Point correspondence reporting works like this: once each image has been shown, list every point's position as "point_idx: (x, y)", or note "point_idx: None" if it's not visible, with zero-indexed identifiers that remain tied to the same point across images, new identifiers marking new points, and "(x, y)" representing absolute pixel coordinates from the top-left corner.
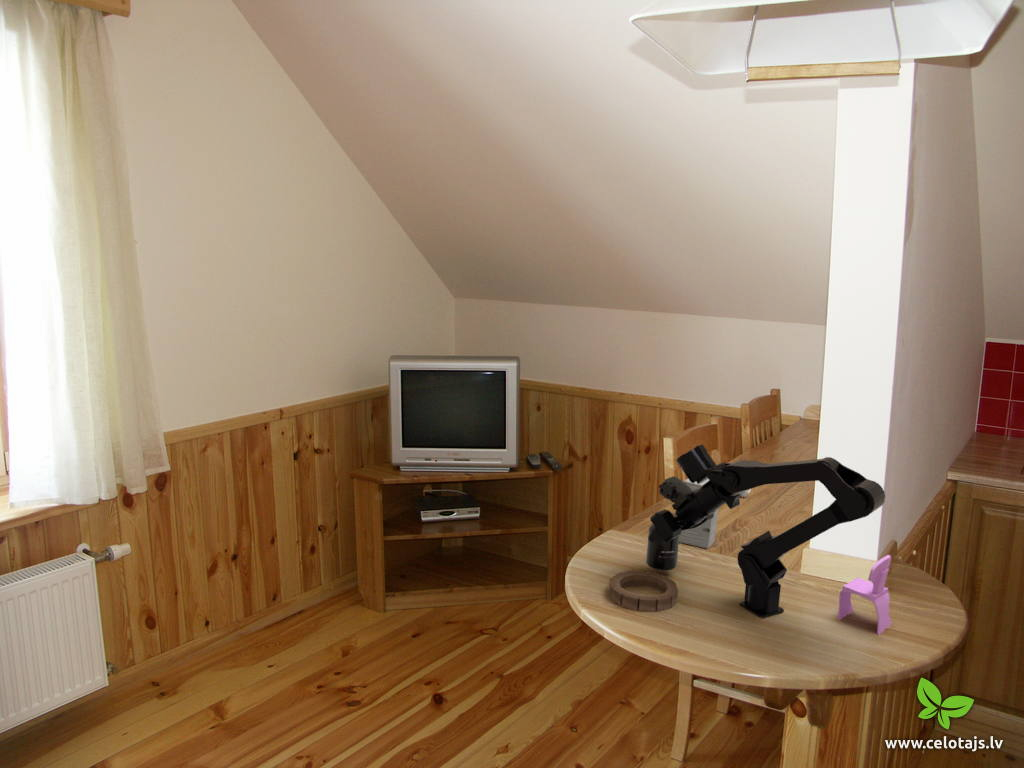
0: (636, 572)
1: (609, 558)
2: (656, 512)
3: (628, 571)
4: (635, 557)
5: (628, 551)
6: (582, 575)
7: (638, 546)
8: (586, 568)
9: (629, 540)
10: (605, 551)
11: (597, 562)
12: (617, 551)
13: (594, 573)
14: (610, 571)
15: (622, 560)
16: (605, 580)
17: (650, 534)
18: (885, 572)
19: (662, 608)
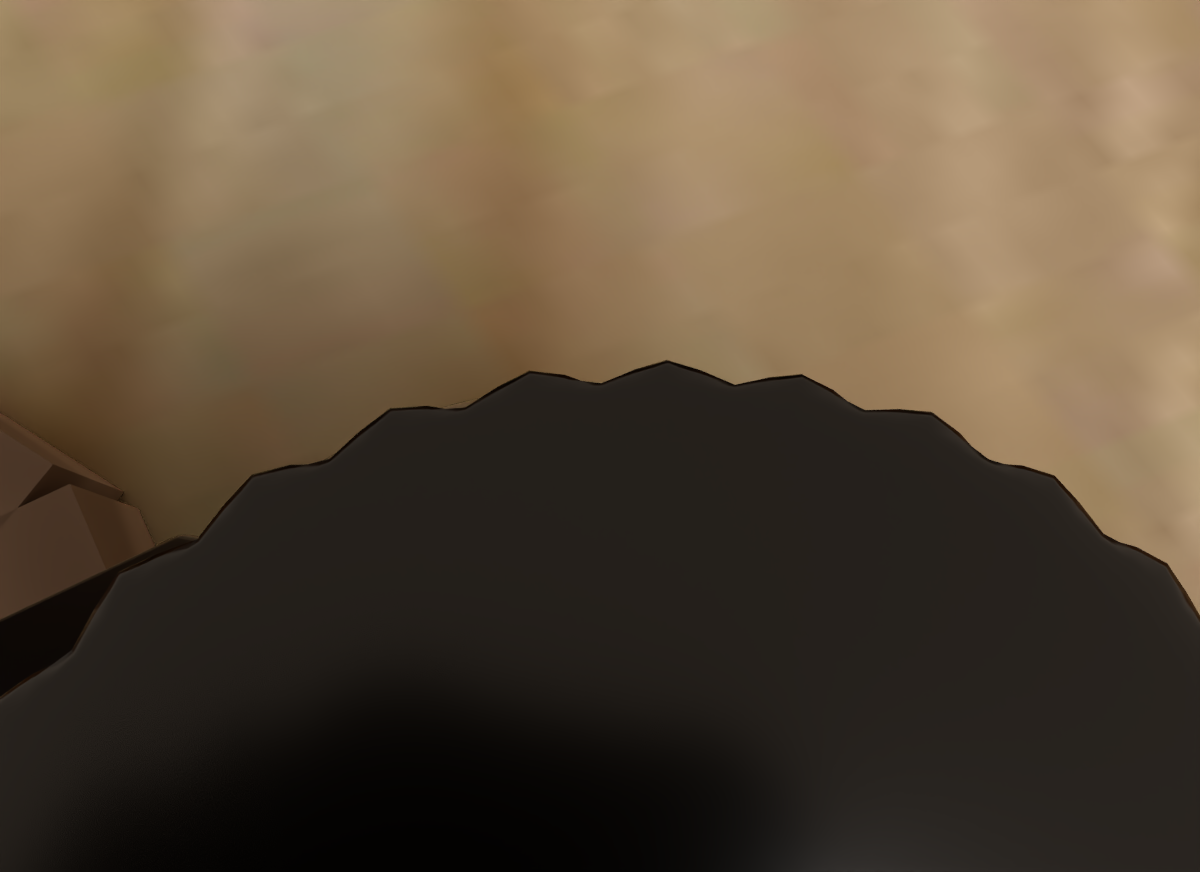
0: (34, 559)
1: (605, 110)
2: (706, 430)
3: (19, 454)
4: (797, 320)
5: (895, 207)
6: (41, 33)
7: (1084, 248)
8: (234, 9)
9: (1158, 123)
10: (745, 23)
11: (438, 47)
12: (822, 117)
13: (152, 112)
14: (289, 227)
15: (637, 234)
16: (28, 263)
17: (26, 608)
18: None
19: None
